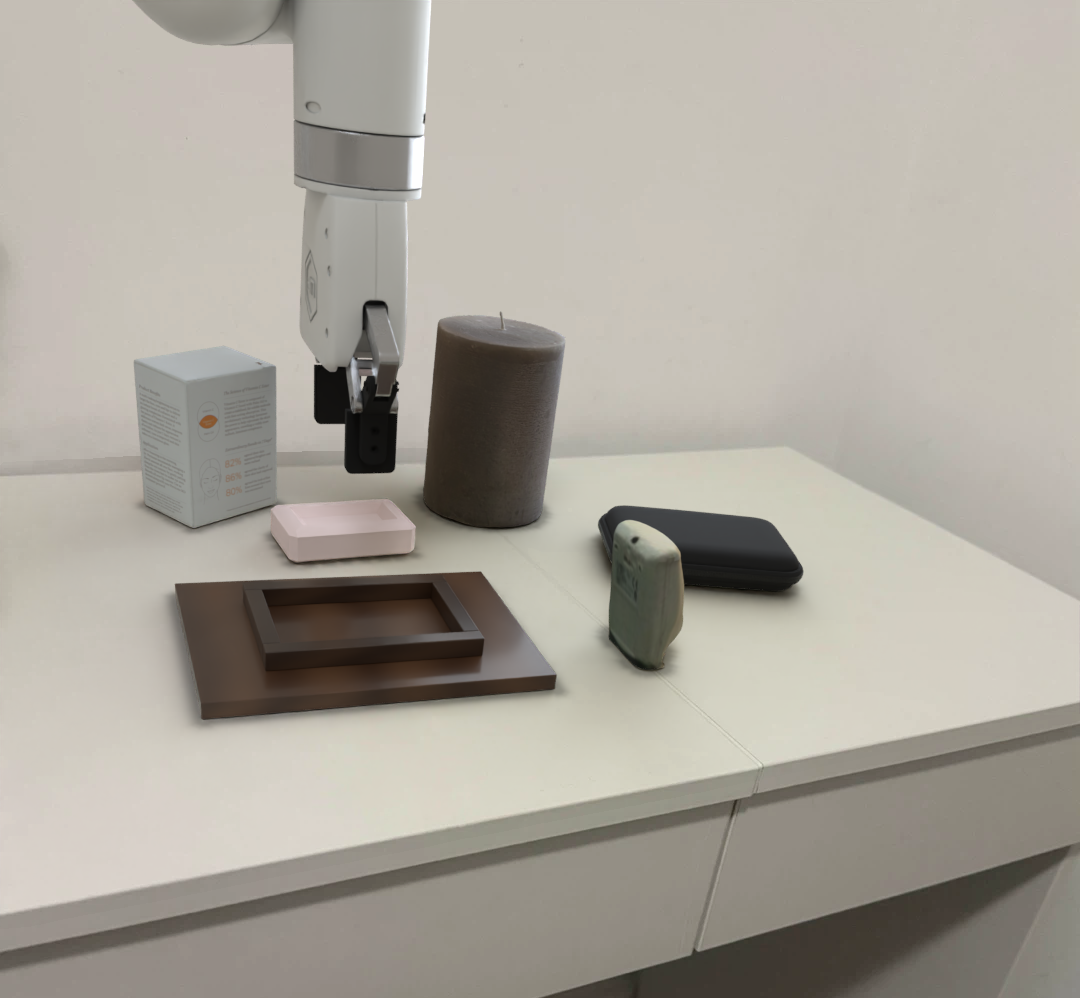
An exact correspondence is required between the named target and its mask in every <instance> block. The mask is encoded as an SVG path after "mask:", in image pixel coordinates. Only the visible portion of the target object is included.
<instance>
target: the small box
mask: <svg viewBox="0 0 1080 998" xmlns="http://www.w3.org/2000/svg"><path fill="white" fill-rule="evenodd" d="M133 372H134V382H135V383H134V386H135V399H136V412H137V413H136V414H137V425H138V437H139V439H138V440H139V452H140V463H141V464H140V465H141V479H142V490H143V491H142V492H143V502H144V505H145V506H146V507H149V508H151V509H153V510H155V511H157V512H160V513H161V514H164V515H165V516H167V517H169V518H171V519H173V520H176V521H178V522H179V523H182V524H183V525H186V526H187V527H190V528H192V529H196V528H199V527H202V526H206V525H209V524H212V523H216V522H218V521H223V520H226V519H230V518H233V517H236V516H240V515H242V514H245V513H250V512H252V511H256V510H259V509H262V508H266V507H268V506H269V507H270V506H272V505H275V504H276V503H277V501H278V482H277V481H278V480H277V479H278V475H277V473H278V471H277V469H278V467H277V465H278V463H277V462H278V461H277V460H278V459H277V458H278V457H277V456H278V455H277V445H278V444H277V437H278V435H277V434H278V433H277V365H275V364H273V363H270V362H268V361H265V360H262V359H260V358H257V357H255V356H252V355H251V354H247V353H244V352H242V351H240V350H237V349H234V348H232V347H228V346H226V345H220V346H213V347H207V348H201V349H193V350H188V351H179V352H175V353H169V354H168V353H167V354H161V355H156V356H148V357H141V358H136V359H134V360H133Z"/></svg>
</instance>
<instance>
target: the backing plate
mask: <svg viewBox="0 0 1080 998" xmlns="http://www.w3.org/2000/svg"><path fill="white" fill-rule="evenodd" d="M174 597H175V602H176V607H177V612H178V616H179V621H180V626H181V630H182V635H183V640H184V644H185V648H186V653H187V658H188V662H189V667H190V673H191V676H192V681H193V687H194V691H195V696H196V700H197V705H198V709H199V714H200V718H201V720H207V719H220V718H233V717H242V716H243V717H244V716H255V715H267V714H279V713H289V712H290V713H291V712H302V711H303V712H304V711H313V710H325V709H336V708H337V709H338V708H346V707H347V708H348V707H358V706H359V707H360V706H371V705H384V704H395V703H407V702H418V701H419V702H420V701H430V700H441V699H452V698H453V699H455V698H464V697H476V696H478V697H479V696H488V695H500V694H501V695H502V694H511V693H523V692H535V691H546V690H547V691H548V690H554V689H555V688H556V682H557V676H558V675H557V673H556V672H555V671H554V669H553V668H552V666H551V665H550V663H549V662H548V661H547V659H546V658H545V657H544V655H543V654H542V653H541V651H540V650H539V649H538V647H537V646H536V644H535V643H534V642H533V640H532V639H531V637H530V636H529V635H528V634H527V632H526V630H524V628H523V627H522V625H521V624H520V622H519V621H518V620H517V618H516V617H515V615H514V614H513V613H512V612H511V610H510V609H509V608H508V606H507V605H506V603H505V602H504V601H503V599H502V598H501V596H500V595H499V594H498V592H497V590H495V588H494V587H493V586H492V584H491V583H490V581H489V580H488V579H487V578H486V576H485V575H484V573H483V572H482V571H458V572H457V571H455V572H454V571H453V572H432V573H430V572H428V573H404V574H381V575H380V574H379V575H357V576H356V575H353V576H331V577H330V576H329V577H328V576H327V577H326V576H325V577H305V578H303V577H301V578H279V579H277V578H275V579H254V580H253V579H252V580H232V581H231V580H229V581H228V580H226V581H202V582H201V581H200V582H179V583H177V582H175V583H174Z"/></svg>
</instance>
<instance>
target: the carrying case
mask: <svg viewBox="0 0 1080 998" xmlns="http://www.w3.org/2000/svg"><path fill="white" fill-rule="evenodd" d="M625 520H634V521H638V522H641V523H643V524H646V525H648V526H650V527H652V528H654V529H656V530H658V531H659V532H661V533H663V534H664V535H665V536H667V537H668V538H669V539H670V540H671V541H672V542H673V543H674V544H675V545H676V546H677V548H678V549H679V551H680V554H681V565H682V572H683V580H684V585H688V586H698V587H699V586H701V587H711V588H724V589H738V590H750V591H762V592H763V591H764V592H782V591H786V590H788V589H790V588H791V587H792V586H794V585H796V584H798V583H799V582H800V581H801V580H802V578H803V576H804V567H803V565H802V563H801V562H800V560H799V559H798V557H797V555H796V554H795V553H794V551H793V550H792V548H791V547H790V546H789V543H787V541H786V540H785V539H784V536H783V535H782V534H781V533H780V531H779V530H778V528H777V527H776V526H775V525H774V524H773V522H770V521H769V520H766V519H764V518H760V517H756V516H755V517H754V516H747V515H745V516H744V515H736V514H725V513H715V512H705V511H694V510H683V509H671V508H663V507H651V506H648V507H647V506H638V505H615V506H613V507H611V508H610V509H609V510H607V512H605V513H604V514H602V515H601V516H600V518H598V522H597V528H598V530H599V533H600V537H601V540H602V542H603V545H604V548H605V551H606V554H607V557H608V560H609V561H610V563H611V564H612V552H613V540H614V532H615V529H616V527H617V526H618V524H619V523H621V522H623V521H625Z"/></svg>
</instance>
